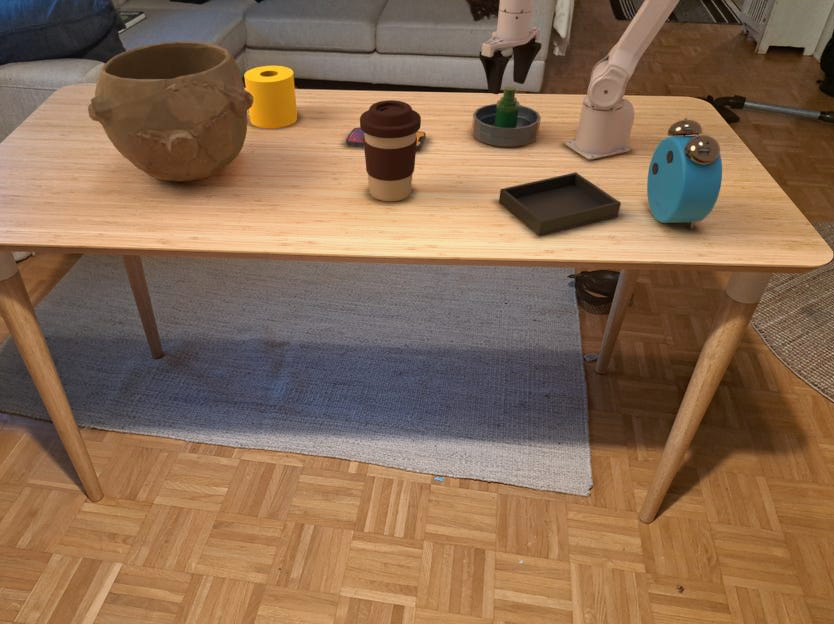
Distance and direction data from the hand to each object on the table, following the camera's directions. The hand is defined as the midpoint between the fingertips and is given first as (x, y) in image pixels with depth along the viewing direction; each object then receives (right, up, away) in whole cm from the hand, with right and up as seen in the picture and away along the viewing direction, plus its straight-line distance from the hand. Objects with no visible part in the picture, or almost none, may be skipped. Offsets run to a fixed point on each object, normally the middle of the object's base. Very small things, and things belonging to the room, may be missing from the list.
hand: (506, 87), depth 129 cm
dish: (+1, -6, +8) cm, 10 cm away
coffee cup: (-22, -22, -10) cm, 33 cm away
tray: (+5, -26, -15) cm, 31 cm away
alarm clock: (+23, -29, -18) cm, 41 cm away
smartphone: (-23, -8, +7) cm, 25 cm away
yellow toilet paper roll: (-46, 0, +17) cm, 49 cm away
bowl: (-60, -16, -1) cm, 62 cm away
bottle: (+1, -6, +8) cm, 10 cm away
